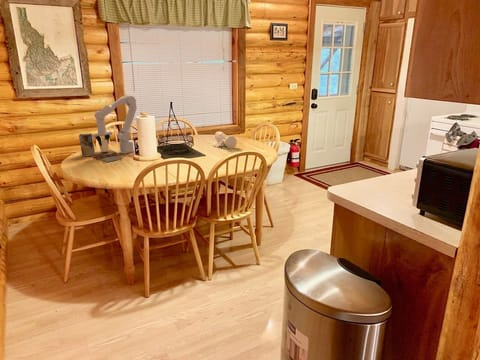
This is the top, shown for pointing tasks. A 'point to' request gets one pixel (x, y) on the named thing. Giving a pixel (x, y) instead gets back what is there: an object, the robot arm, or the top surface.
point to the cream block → (104, 145)
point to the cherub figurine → (224, 140)
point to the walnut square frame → (105, 154)
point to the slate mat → (111, 159)
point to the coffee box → (87, 144)
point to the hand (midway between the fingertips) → (103, 145)
